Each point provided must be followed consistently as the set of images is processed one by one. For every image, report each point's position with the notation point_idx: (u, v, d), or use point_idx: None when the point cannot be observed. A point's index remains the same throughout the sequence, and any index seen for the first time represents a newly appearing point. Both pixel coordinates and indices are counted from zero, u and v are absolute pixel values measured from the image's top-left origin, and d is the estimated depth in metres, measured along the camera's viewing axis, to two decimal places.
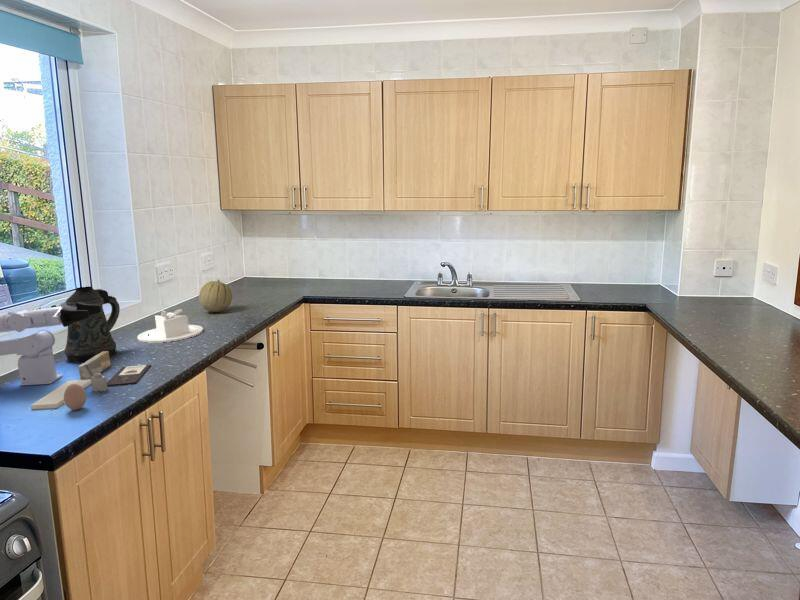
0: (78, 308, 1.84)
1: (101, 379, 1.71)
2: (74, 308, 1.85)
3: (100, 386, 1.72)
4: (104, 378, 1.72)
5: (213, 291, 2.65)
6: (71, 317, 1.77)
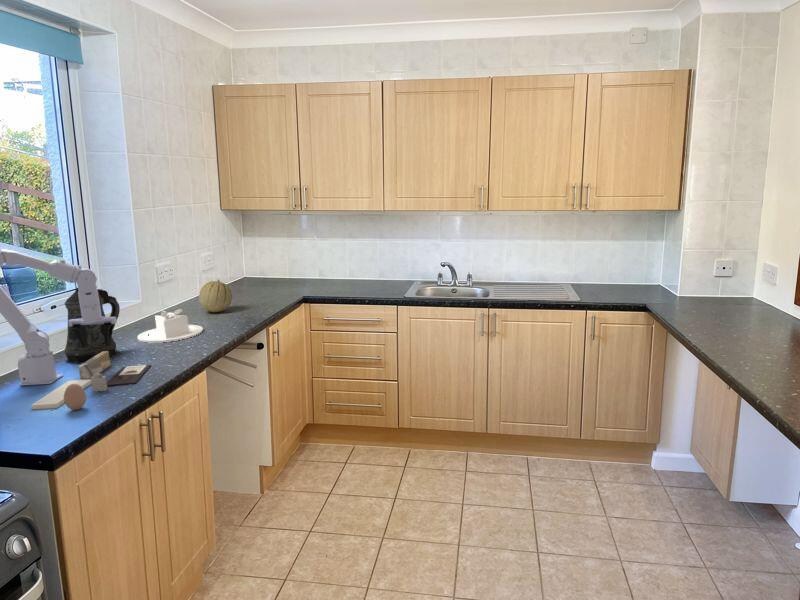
0: (83, 326, 1.91)
1: (101, 379, 1.71)
2: None
3: (100, 386, 1.72)
4: (104, 378, 1.72)
5: (213, 291, 2.65)
6: None
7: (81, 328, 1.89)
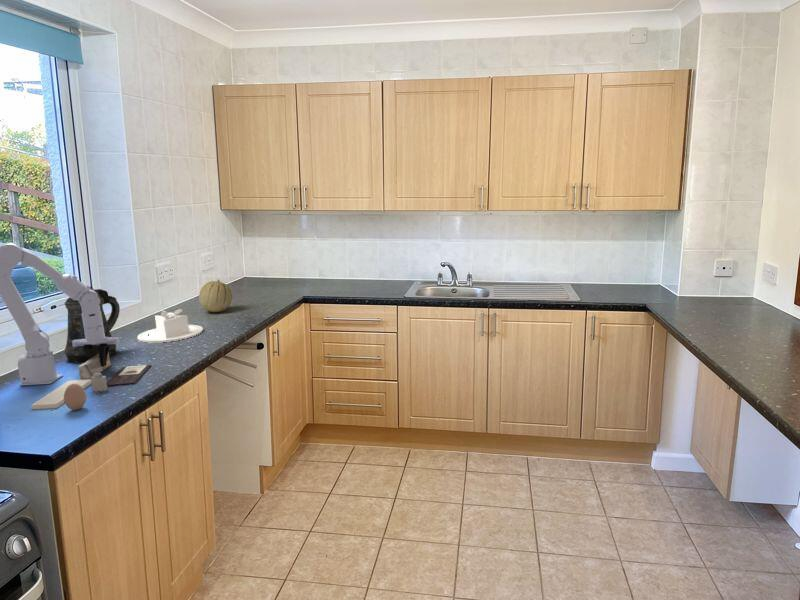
0: (94, 346, 1.92)
1: (101, 379, 1.71)
2: None
3: (100, 386, 1.72)
4: (104, 378, 1.72)
5: (213, 291, 2.65)
6: None
7: (92, 348, 1.91)
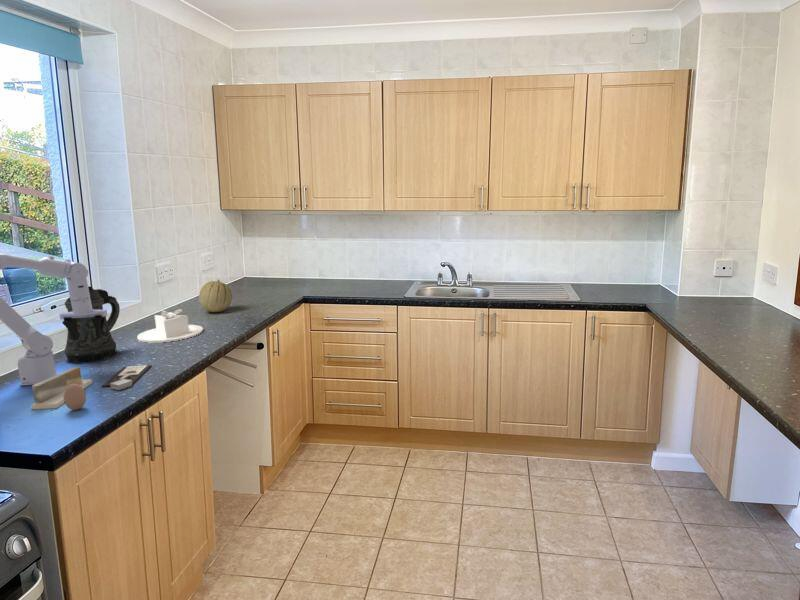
0: (74, 319, 1.92)
1: (129, 381, 1.75)
2: None
3: (121, 382, 1.73)
4: (130, 383, 1.75)
5: (213, 291, 2.65)
6: None
7: (72, 321, 1.91)
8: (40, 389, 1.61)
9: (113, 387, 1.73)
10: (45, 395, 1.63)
